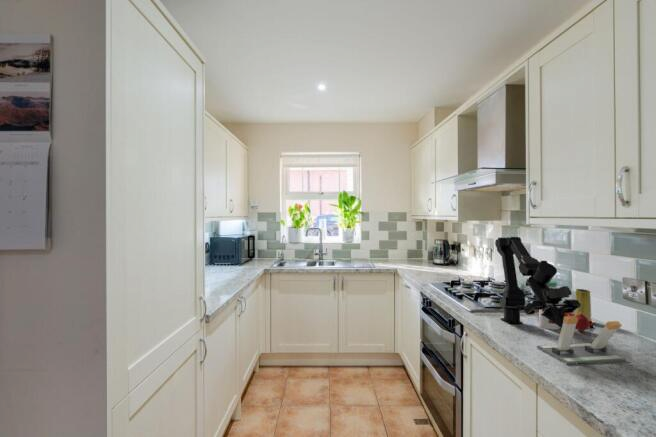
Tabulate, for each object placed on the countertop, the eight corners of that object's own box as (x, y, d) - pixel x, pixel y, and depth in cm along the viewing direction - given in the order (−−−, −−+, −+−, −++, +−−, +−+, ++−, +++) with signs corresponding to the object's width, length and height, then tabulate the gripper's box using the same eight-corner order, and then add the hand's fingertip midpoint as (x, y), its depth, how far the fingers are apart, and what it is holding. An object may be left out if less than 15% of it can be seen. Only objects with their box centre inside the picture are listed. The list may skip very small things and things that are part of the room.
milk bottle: (540, 328, 137) (540, 282, 136) (537, 322, 144) (538, 279, 143) (561, 331, 133) (562, 284, 133) (558, 325, 140) (559, 280, 140)
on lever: (588, 347, 114) (607, 321, 107) (597, 346, 115) (617, 321, 107) (591, 351, 113) (611, 325, 106) (601, 350, 113) (621, 325, 106)
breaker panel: (536, 347, 118) (536, 341, 118) (589, 344, 120) (590, 338, 120) (566, 364, 105) (567, 357, 105) (625, 361, 107) (625, 354, 107)
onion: (582, 329, 136) (583, 310, 136) (592, 334, 131) (593, 315, 130) (568, 328, 137) (568, 310, 137) (577, 333, 131) (577, 314, 131)
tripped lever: (555, 349, 113) (564, 316, 109) (565, 349, 113) (574, 315, 109) (559, 352, 111) (568, 319, 107) (569, 352, 112) (578, 318, 108)
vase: (577, 322, 144) (578, 291, 144) (571, 318, 150) (572, 288, 149) (593, 324, 142) (594, 292, 142) (586, 319, 148) (587, 289, 148)
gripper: (529, 278, 115) (554, 319, 104) (576, 277, 117) (605, 317, 106) (514, 295, 123) (536, 334, 112) (558, 293, 125) (584, 331, 114)
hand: (565, 329), depth 111 cm, fingers closed, pressing on tripped lever
